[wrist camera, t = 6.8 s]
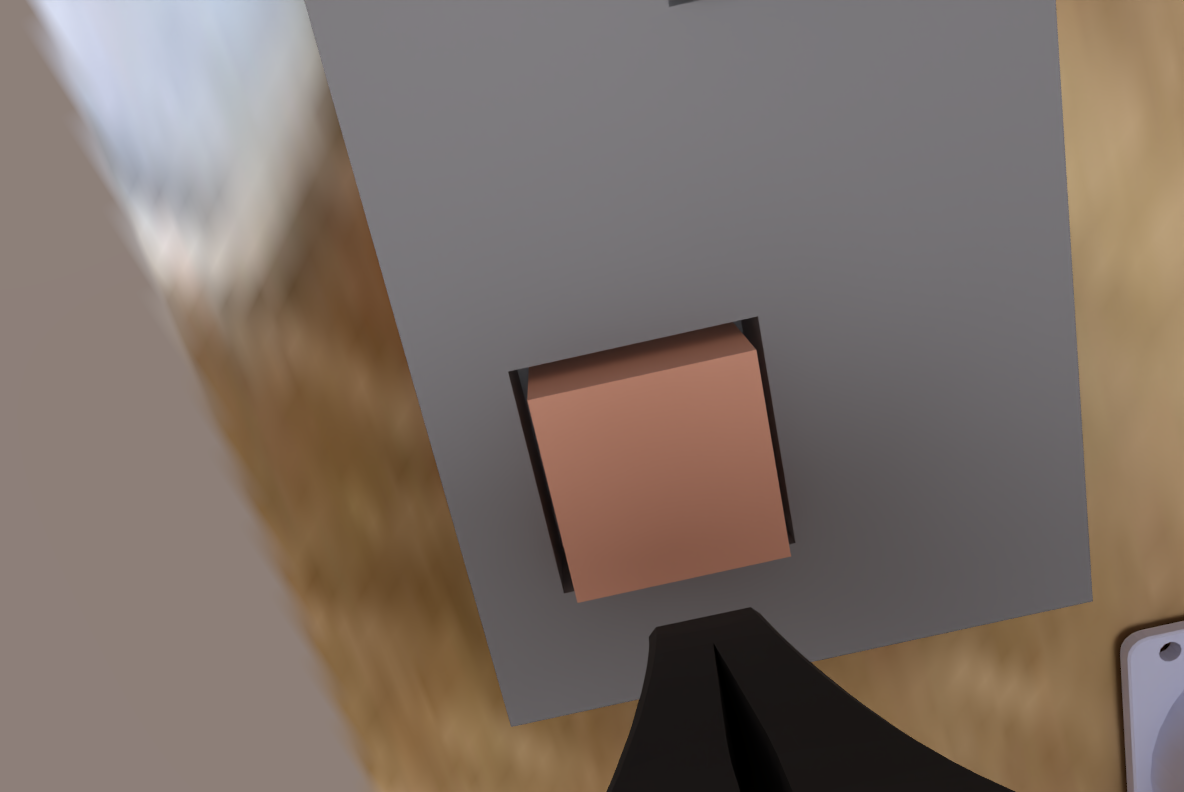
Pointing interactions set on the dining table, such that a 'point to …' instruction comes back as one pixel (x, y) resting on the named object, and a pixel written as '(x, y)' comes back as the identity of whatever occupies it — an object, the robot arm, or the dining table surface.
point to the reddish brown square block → (659, 460)
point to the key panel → (736, 293)
